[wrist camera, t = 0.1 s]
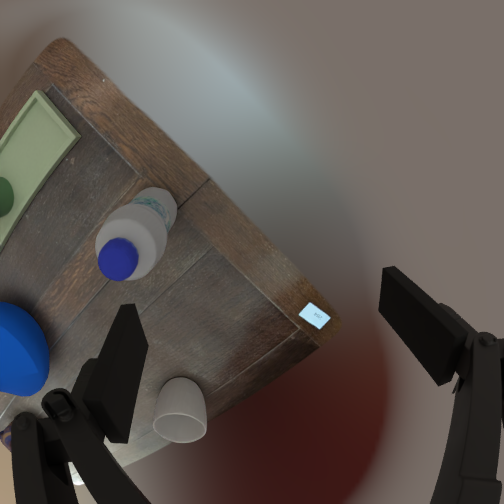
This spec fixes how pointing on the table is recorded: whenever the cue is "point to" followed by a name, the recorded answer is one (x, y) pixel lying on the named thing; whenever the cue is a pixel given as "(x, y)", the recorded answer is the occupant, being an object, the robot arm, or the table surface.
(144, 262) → the bottle
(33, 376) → the vase
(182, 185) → the table surface
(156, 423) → the mug
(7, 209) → the green bottle
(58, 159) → the tray
